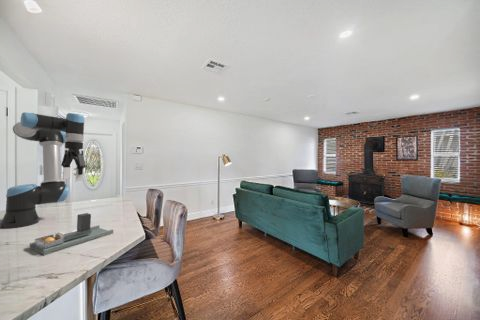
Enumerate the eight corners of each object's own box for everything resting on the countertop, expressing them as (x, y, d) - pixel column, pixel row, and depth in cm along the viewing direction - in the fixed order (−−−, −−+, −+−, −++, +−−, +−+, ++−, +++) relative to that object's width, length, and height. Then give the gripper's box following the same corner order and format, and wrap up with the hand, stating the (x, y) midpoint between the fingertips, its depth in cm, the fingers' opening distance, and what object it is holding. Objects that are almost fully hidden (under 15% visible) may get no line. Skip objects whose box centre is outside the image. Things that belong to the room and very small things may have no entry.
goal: (34, 247, 84) (34, 238, 84) (52, 242, 89) (52, 234, 90) (44, 253, 80) (45, 243, 80) (62, 247, 85) (63, 238, 85)
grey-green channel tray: (29, 247, 84) (29, 243, 84) (98, 228, 109) (98, 225, 109) (43, 255, 78) (44, 250, 78) (113, 233, 103) (113, 229, 103)
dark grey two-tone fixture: (54, 241, 88) (56, 218, 89) (87, 232, 100) (88, 212, 101) (60, 244, 86) (61, 220, 86) (92, 234, 98) (93, 213, 98)
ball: (53, 235, 87) (52, 243, 87) (41, 238, 84) (40, 247, 84) (57, 237, 86) (56, 245, 86) (45, 239, 82) (44, 249, 82)
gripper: (54, 141, 106) (52, 178, 106) (78, 140, 96) (76, 182, 95) (70, 142, 113) (69, 177, 113) (94, 142, 102) (93, 180, 102)
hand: (72, 179), depth 104 cm, fingers open, 13 cm apart
